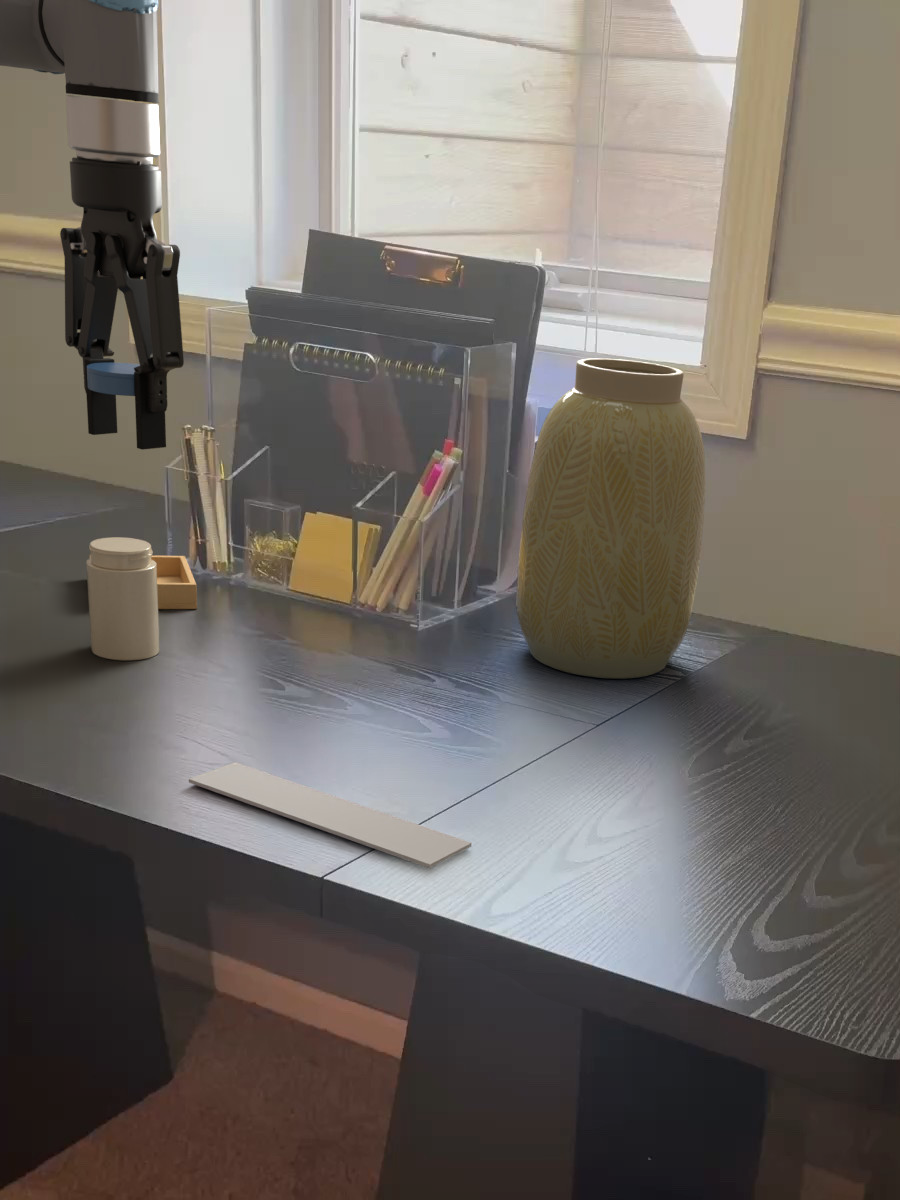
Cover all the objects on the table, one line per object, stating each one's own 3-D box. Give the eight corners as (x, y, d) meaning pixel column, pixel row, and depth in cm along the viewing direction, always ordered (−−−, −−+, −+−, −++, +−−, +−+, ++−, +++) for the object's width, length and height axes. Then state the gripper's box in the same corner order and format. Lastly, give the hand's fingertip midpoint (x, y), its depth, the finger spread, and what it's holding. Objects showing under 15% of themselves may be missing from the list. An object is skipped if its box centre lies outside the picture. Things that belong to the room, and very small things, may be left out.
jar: (77, 648, 133) (70, 541, 128) (131, 636, 137) (126, 533, 133) (119, 664, 130) (114, 556, 125) (173, 652, 134) (170, 547, 129)
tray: (90, 578, 153) (89, 554, 152) (185, 579, 156) (185, 555, 155) (96, 609, 144) (95, 583, 143) (197, 609, 147) (196, 584, 146)
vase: (568, 693, 134) (600, 380, 121) (479, 638, 146) (500, 349, 133) (719, 678, 142) (764, 383, 129) (622, 627, 155) (655, 354, 142)
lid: (72, 385, 133) (71, 363, 132) (132, 382, 137) (131, 361, 137) (116, 397, 129) (115, 375, 129) (176, 394, 134) (175, 372, 133)
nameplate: (235, 766, 111) (188, 783, 107) (235, 761, 111) (188, 778, 107) (471, 847, 102) (429, 869, 98) (471, 842, 102) (430, 864, 98)
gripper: (225, 171, 122) (228, 457, 133) (82, 151, 132) (96, 418, 143) (152, 165, 117) (161, 464, 128) (9, 145, 127) (29, 424, 138)
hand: (127, 439), depth 136 cm, fingers closed on lid, 6 cm apart
